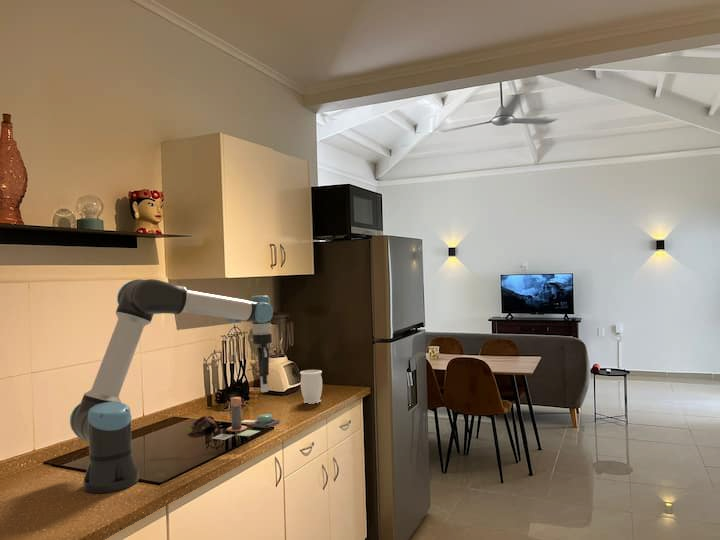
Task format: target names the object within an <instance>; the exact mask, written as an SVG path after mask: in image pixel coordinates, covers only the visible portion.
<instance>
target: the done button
mask: <svg viewBox="0 0 720 540" xmlns="http://www.w3.org/2000/svg"><path fill="white" fill-rule="evenodd" d="M273 419H274V418H273V414H271V413H270V414H269V413H267V414H266V413H265V414H259V415H257V419H256V421H258V423H259V424H269V423H271V422H272V421H273Z"/></svg>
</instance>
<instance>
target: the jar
mask: <svg viewBox="0 0 720 540" xmlns="http://www.w3.org/2000/svg"><path fill="white" fill-rule="evenodd" d="M322 373H323V371H322V370H320V369H306V370H301V371H300V373H299V374H300V375H301V376H300V389H301V394H302V398H303V402H304V403H303V404H305V403H308V404H307V405H315V403H317V404H319V402H320V403H321V402H322V400H321V399H320V398H321V396H322V392H323V378H322Z"/></svg>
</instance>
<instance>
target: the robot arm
mask: <svg viewBox="0 0 720 540" xmlns="http://www.w3.org/2000/svg"><path fill="white" fill-rule="evenodd" d="M116 300H117V308H116V310H115V315H116V317H117V321H116V323H115V326H114V329H113V332H112V334H111V337H110V340H109V342H108V345H107V348H106V350H105V353H104V356H103V358H102V360H101V362H100V363H101V364H100V366H99V368H98V372H97V374H96V376H95V379H94V381H93V384H92V387H91V389H90V390H88V391H87V392H84V394H83V396H82V398H81V400H80V403H79V404H77V405H76V406H75V407H74V408H73V410H72V412H71V414H70V418H69V425H70V429H71V430H72V431H73V434H75V436H77V438H80V439H81V440H84V441H86V442H88V450H89V451H88V453H89V462H88V465H87V469H86V472H85V476H84V478H83V490H84V491H85V492H86V493H91V494H105V493H112V492H118V491H121V490H124V489H126V488H129V487H131V486H133V485H135V484H137V482H138V481H139V479H140V472H139V469H138V466H137V464H136V461H135V459H134V457H133V451H132V450H133V447H132V446H133V445H132V444H133V443H132V441H133V440H132V414H131V408H130V406H129V405H127V404H126V403H123V402H122V400H121V399H120V393H121V391H122V388H123V385H124V382H125V379H126V377H127V374H128V372H129V369H130V366H131V363H132V360H133V358H134V355H135V352H136V350H137V347H138V345H139V342H140V339H141V335H142V333H143V331H144V329H145V326H148V325H149V324H151V323H152V320H153V317H154V315H159V314H160V315H161V314H162V315H163V314H171V315H181V314H182V313H187V314H196V315H202V316H209V317H217V318H222V319H223V318H224V319H225V320H226V322H228V323H238V322H244V323H245V322H246V323H251V328H252V342H253V343H252V344H254V345H258V346H257V348H256V352H257V353H256V354H257V360H258V363H257V364H258V373H259V377H260V379H259V380H260V392H261V393H267V392H269V375H270V373H269V370H270V369H269V368H270V367H269V366H270V365H269V362H270V360H269V357H270V352H269V347H268V344H271V343H273V338H272V337H273V336H272V327H273V324H272V319H273V316H274V310H273V307H272V305H271V299H270V297H269V295H253V296H251V298H250V300H247V299H242V298H236V297H232V296H231V297H230V296H224V295H219V294H213V293H206V292H201V291H195V290H190V289H187V288H186V287H185V286H184V285H179V284H175V283H174V284H173V283H170V282H166V281H163V280H159V279H154V278H150V279H133V280H131V281H128V282H126V283H125V284H123V285H122V286H121V287H120V288H119V290H118V292H117V296H116Z"/></svg>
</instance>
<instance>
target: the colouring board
mask: <svg viewBox="0 0 720 540" xmlns="http://www.w3.org/2000/svg"><path fill="white" fill-rule="evenodd" d="M272 419H273V421H272V422H268V423H258V421H257V420H254V419H253V420H251V419H244V420H242V423H250V427H252V428H259V429H260V428H263V429H269V428H272V427H274V426H276V425H278V424H280V419H276V418H272ZM247 428H248V427H247V426H246V425H242V428H241V429H238V430H233V429H232V426H229V427H227V428H226V431H227V432H239V433H238V434H236V436H243V437H251V436H253V435H255V434H257V433H260V432H261V430H254V429H253V430H252V429H247ZM240 431H241V432H240ZM234 436H235V434H228V433H221V434H218V435H216V436H213V437H211V439H214V440H223V441H225V440H227V439H230V438H233V437H234Z"/></svg>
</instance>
